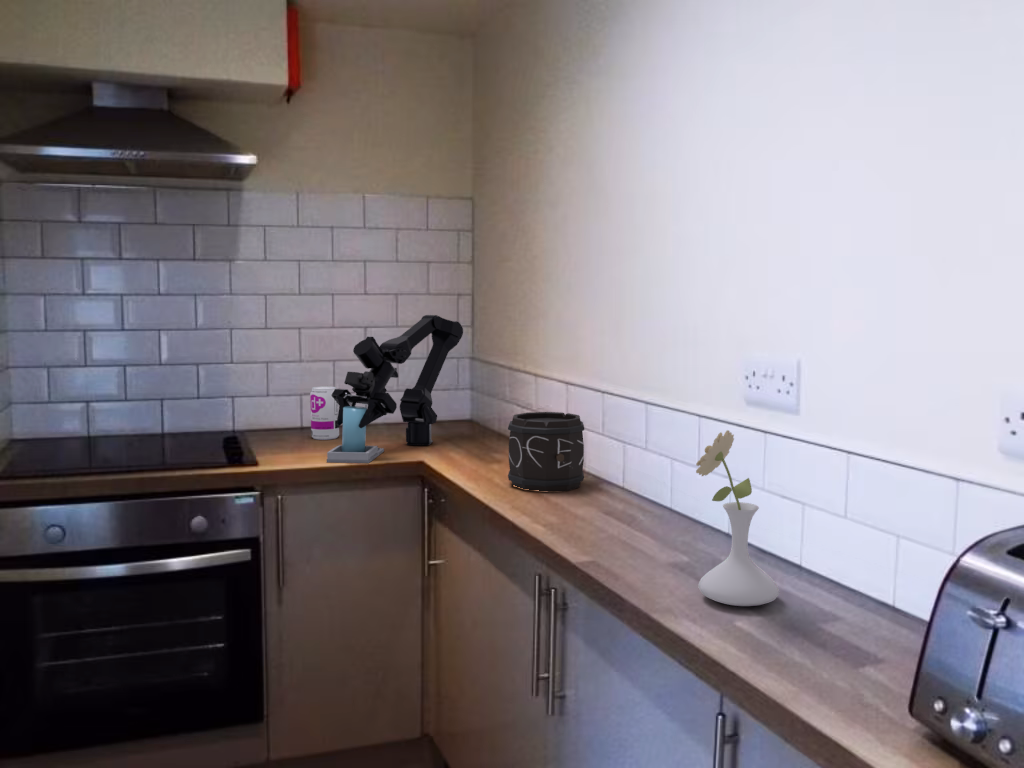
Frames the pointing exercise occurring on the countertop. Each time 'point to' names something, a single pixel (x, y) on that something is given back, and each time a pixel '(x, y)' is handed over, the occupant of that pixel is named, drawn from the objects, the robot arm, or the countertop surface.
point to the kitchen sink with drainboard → (353, 455)
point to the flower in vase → (734, 541)
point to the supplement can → (324, 413)
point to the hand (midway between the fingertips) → (348, 426)
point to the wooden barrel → (546, 451)
